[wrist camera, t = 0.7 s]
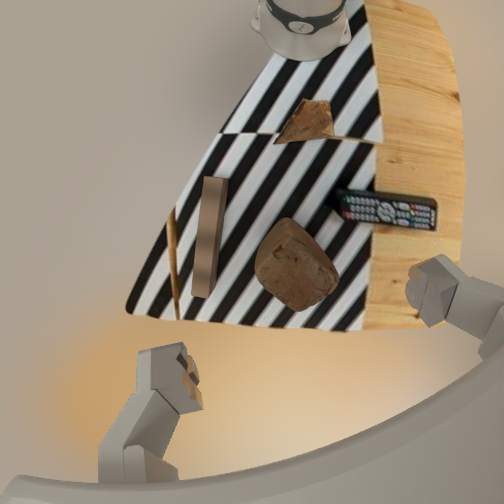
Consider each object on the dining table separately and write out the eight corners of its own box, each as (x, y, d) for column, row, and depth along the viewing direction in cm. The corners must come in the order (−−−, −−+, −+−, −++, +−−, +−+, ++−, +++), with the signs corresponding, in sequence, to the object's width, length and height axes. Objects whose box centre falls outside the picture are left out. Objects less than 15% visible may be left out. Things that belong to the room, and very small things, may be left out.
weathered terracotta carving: (256, 241, 53) (243, 275, 34) (286, 210, 52) (290, 227, 32) (300, 281, 54) (310, 334, 35) (329, 252, 53) (356, 292, 33)
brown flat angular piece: (273, 145, 50) (273, 144, 48) (266, 104, 48) (265, 102, 46) (334, 138, 48) (336, 136, 47) (326, 97, 47) (328, 95, 45)
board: (212, 176, 51) (204, 176, 45) (229, 179, 51) (222, 178, 45) (199, 283, 56) (191, 295, 50) (215, 286, 56) (208, 298, 50)
